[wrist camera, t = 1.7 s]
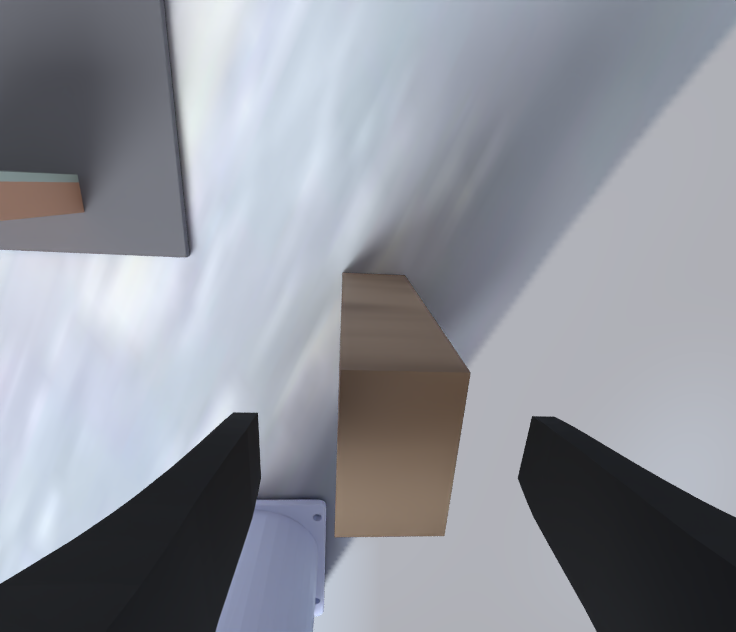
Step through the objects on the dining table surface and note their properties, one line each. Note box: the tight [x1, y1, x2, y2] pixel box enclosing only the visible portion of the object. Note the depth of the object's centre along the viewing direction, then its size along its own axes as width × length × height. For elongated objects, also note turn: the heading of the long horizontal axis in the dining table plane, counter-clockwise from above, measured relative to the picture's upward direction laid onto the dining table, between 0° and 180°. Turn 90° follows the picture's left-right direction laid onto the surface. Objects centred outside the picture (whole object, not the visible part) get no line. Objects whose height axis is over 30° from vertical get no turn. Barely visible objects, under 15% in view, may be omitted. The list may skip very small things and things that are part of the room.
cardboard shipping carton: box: [334, 273, 470, 537], centre depth 14 cm, size 5×3×10 cm, turn 177°
